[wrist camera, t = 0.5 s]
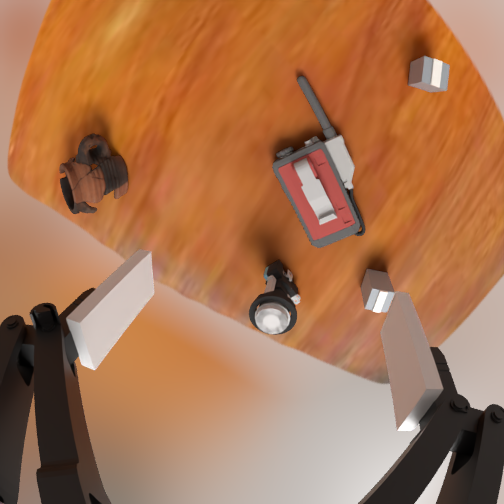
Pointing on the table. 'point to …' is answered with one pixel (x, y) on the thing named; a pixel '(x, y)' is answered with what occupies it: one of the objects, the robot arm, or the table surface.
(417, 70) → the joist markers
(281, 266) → the push button
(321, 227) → the walkie-talkie
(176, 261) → the table surface
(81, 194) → the pottery mug
